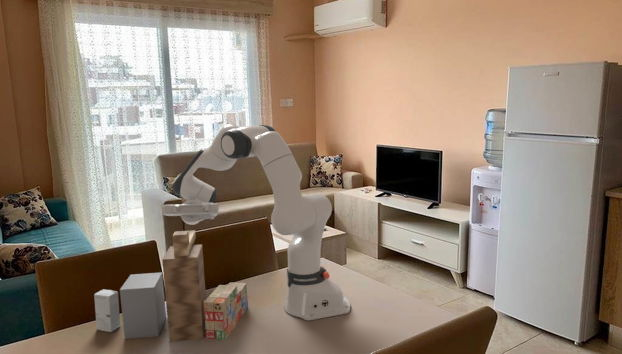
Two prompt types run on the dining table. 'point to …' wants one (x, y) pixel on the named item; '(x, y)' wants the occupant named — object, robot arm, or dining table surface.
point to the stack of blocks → (224, 309)
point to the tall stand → (185, 294)
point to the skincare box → (107, 310)
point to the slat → (183, 242)
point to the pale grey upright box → (143, 305)
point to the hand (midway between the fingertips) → (190, 207)
